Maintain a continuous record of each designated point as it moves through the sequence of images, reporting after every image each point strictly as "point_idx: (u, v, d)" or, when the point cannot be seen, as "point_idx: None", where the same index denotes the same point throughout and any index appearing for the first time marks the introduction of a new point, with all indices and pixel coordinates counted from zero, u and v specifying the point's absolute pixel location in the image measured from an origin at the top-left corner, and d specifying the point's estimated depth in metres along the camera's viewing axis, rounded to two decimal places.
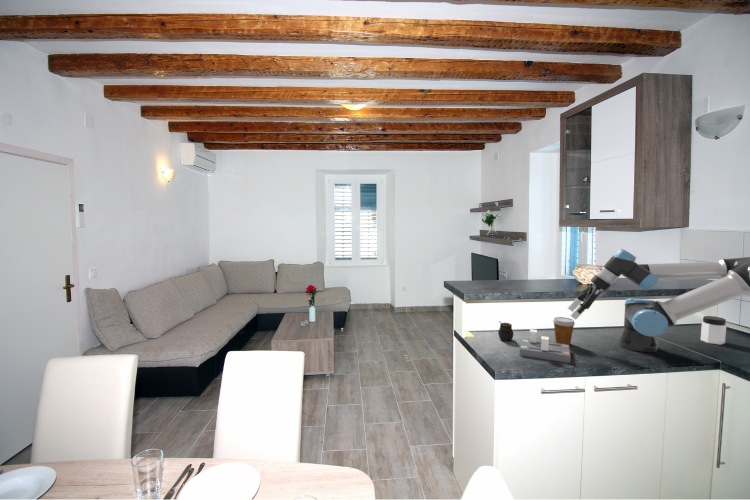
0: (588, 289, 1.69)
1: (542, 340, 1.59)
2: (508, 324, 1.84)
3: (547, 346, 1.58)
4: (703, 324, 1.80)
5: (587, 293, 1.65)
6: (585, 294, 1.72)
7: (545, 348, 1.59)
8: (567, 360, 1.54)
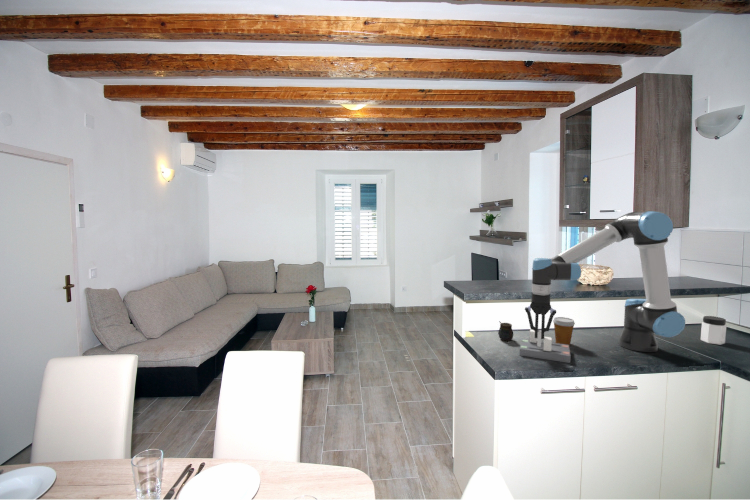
0: (538, 310, 1.59)
1: (545, 340, 1.59)
2: (508, 324, 1.84)
3: (550, 346, 1.58)
4: (703, 324, 1.80)
5: (543, 316, 1.58)
6: None
7: (548, 348, 1.58)
8: (567, 360, 1.54)
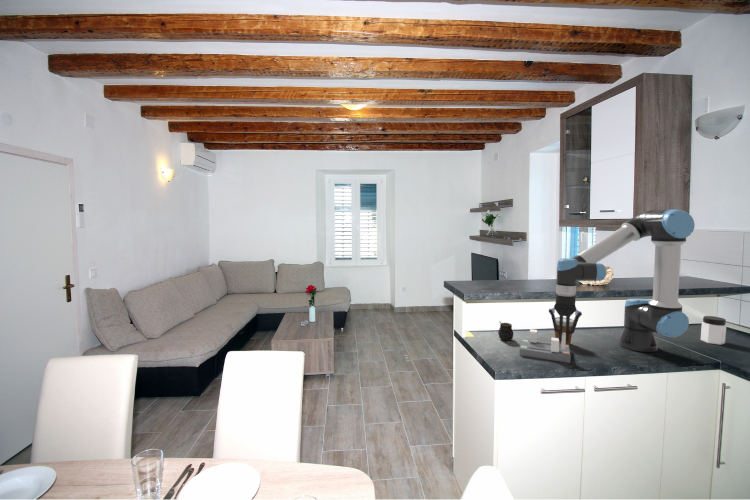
0: (563, 312, 1.55)
1: (552, 341, 1.57)
2: (508, 324, 1.84)
3: (557, 347, 1.57)
4: (703, 324, 1.80)
5: (567, 318, 1.54)
6: (562, 320, 1.56)
7: (555, 349, 1.57)
8: (567, 360, 1.54)
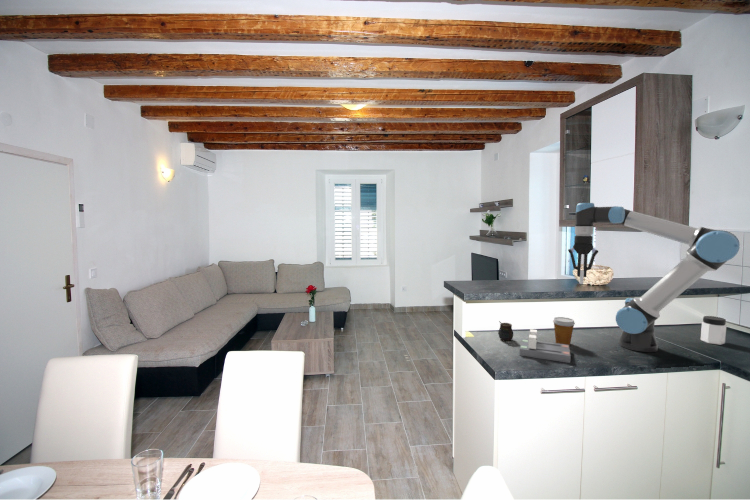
0: (581, 251, 1.74)
1: (529, 338, 1.61)
2: (508, 324, 1.84)
3: (534, 344, 1.60)
4: (703, 324, 1.80)
5: (585, 255, 1.73)
6: (580, 258, 1.76)
7: (532, 346, 1.61)
8: (567, 360, 1.54)
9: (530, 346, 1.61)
